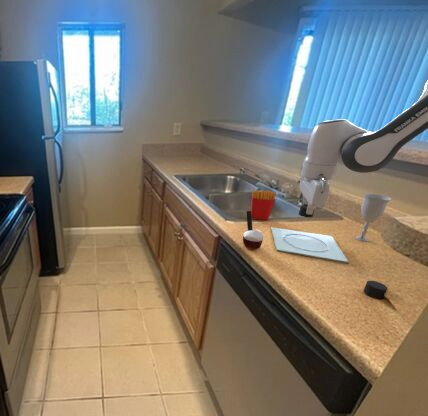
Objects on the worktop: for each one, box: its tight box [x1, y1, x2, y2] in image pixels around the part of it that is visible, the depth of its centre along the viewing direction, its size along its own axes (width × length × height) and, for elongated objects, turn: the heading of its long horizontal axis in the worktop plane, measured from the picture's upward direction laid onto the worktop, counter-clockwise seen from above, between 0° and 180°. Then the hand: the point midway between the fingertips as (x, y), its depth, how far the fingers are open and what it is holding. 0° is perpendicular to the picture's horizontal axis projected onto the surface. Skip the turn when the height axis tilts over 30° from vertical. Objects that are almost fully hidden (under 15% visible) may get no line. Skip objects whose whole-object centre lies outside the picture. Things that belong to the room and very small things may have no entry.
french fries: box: [250, 189, 277, 221], centre depth 120 cm, size 9×4×13 cm, turn 72°
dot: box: [363, 280, 388, 300], centre depth 73 cm, size 4×4×3 cm
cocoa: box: [242, 210, 265, 250], centre depth 97 cm, size 10×6×12 cm, turn 159°
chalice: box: [354, 193, 392, 242], centre depth 96 cm, size 7×7×18 cm
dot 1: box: [298, 204, 316, 218], centre depth 94 cm, size 4×4×3 cm
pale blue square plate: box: [270, 226, 350, 264], centre depth 100 cm, size 20×20×1 cm
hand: (306, 210), depth 94 cm, fingers closed on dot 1, 4 cm apart
